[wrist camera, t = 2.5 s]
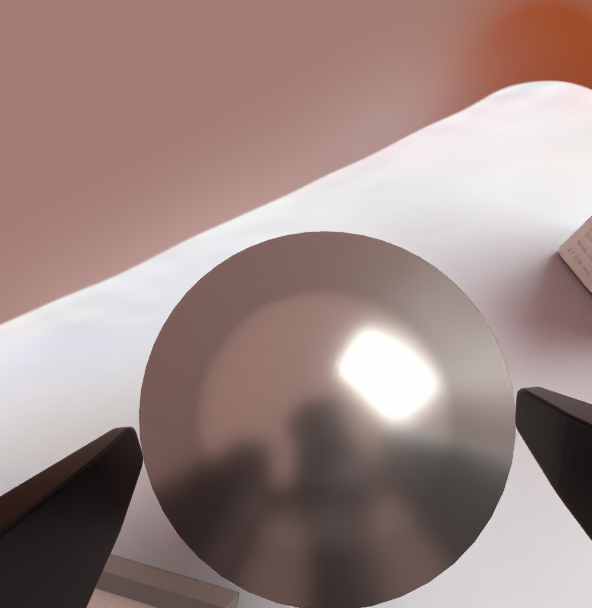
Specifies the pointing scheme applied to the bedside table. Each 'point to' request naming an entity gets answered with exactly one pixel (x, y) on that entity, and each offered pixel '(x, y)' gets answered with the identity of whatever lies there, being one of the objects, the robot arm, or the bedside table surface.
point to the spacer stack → (327, 420)
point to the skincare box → (580, 253)
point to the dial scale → (154, 589)
